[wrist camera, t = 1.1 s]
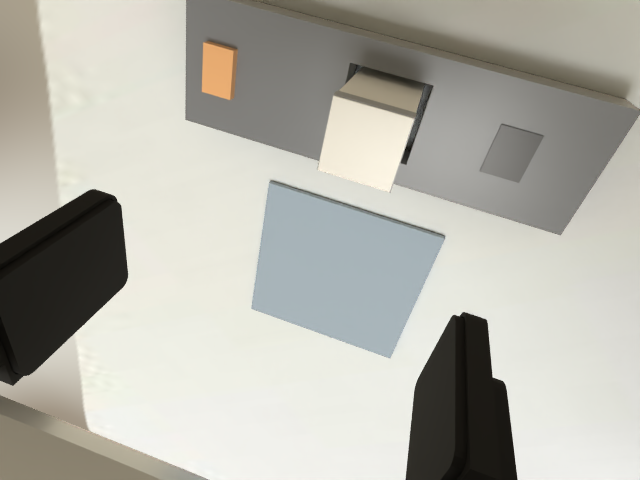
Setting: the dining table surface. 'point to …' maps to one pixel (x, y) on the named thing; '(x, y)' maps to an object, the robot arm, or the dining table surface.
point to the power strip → (438, 118)
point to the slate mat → (340, 268)
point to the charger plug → (370, 127)
